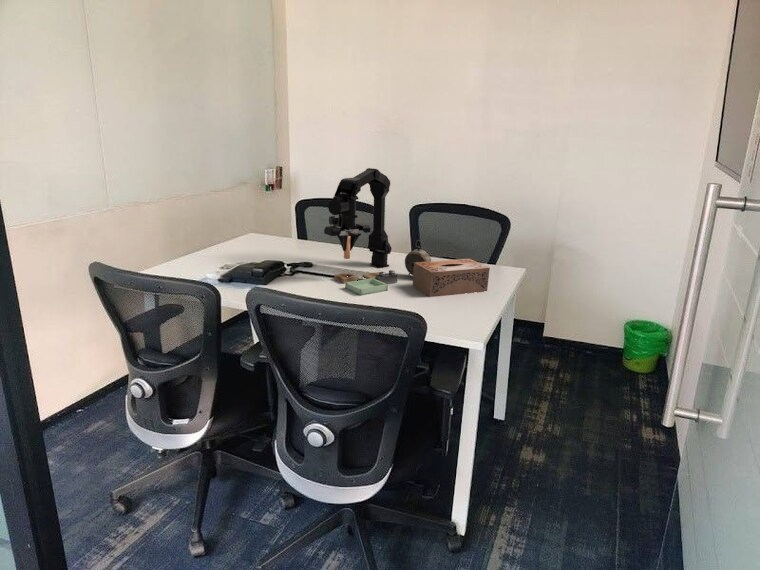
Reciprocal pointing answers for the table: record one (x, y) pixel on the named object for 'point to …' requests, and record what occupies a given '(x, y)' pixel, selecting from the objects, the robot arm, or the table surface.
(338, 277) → the socket block
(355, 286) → the tray
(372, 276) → the tan rectangular slab
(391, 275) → the grey boxy piece
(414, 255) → the alarm clock
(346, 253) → the dowel
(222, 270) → the table surface
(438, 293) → the tissue box cover
